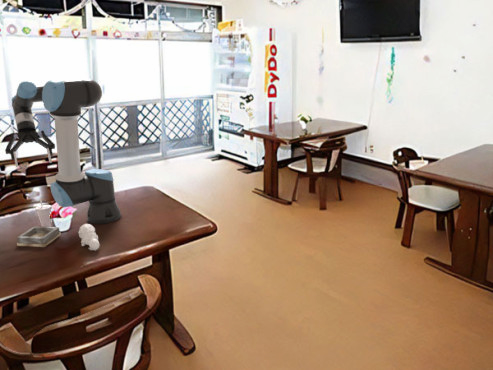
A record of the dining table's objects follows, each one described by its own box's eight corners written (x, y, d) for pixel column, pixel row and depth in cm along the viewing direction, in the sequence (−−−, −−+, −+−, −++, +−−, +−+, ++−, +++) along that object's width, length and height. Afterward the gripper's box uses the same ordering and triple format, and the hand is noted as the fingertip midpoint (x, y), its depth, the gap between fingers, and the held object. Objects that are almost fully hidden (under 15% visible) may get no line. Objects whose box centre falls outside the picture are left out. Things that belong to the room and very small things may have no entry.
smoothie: (42, 224, 191) (37, 195, 187) (56, 224, 192) (51, 195, 188) (36, 230, 185) (31, 200, 181) (51, 229, 186) (46, 199, 181)
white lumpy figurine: (92, 220, 172) (102, 232, 163) (94, 238, 175) (104, 251, 166) (76, 224, 168) (86, 236, 159) (78, 243, 171) (88, 256, 163)
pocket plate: (61, 234, 180) (59, 227, 179) (44, 246, 169) (43, 238, 168) (35, 233, 182) (33, 226, 181) (17, 245, 171) (15, 237, 170)
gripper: (54, 127, 205) (63, 163, 197) (-5, 132, 193) (3, 171, 185) (54, 117, 199) (64, 155, 191) (-7, 122, 187) (1, 162, 179)
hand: (34, 163), depth 188 cm, fingers open, 13 cm apart
